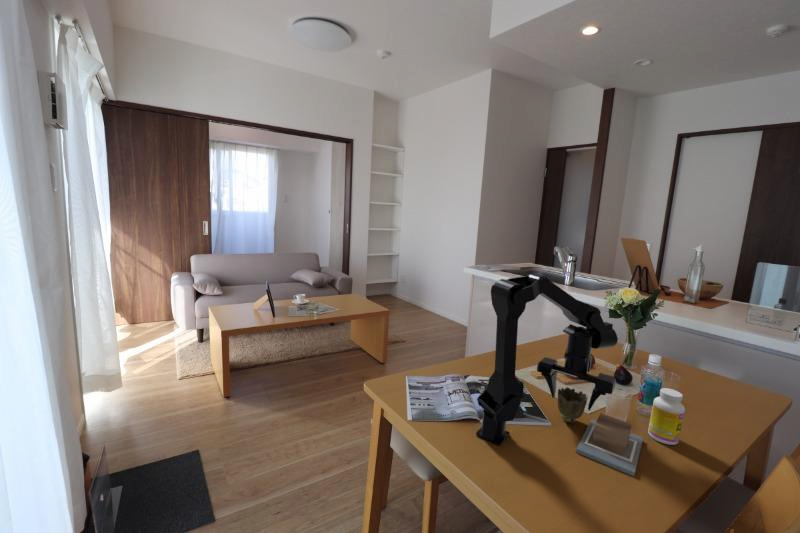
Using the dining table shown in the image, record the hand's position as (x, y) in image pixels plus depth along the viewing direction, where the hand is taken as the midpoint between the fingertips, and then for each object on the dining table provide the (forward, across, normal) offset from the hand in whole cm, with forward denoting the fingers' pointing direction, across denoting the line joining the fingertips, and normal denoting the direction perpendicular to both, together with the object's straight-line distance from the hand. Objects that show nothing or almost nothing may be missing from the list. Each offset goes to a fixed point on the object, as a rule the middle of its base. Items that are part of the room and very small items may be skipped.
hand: (570, 403), depth 102 cm
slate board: (+5, -11, +5) cm, 13 cm away
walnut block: (+4, -11, +5) cm, 13 cm away
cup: (+5, 0, 0) cm, 5 cm away
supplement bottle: (+5, -21, -9) cm, 24 cm away
